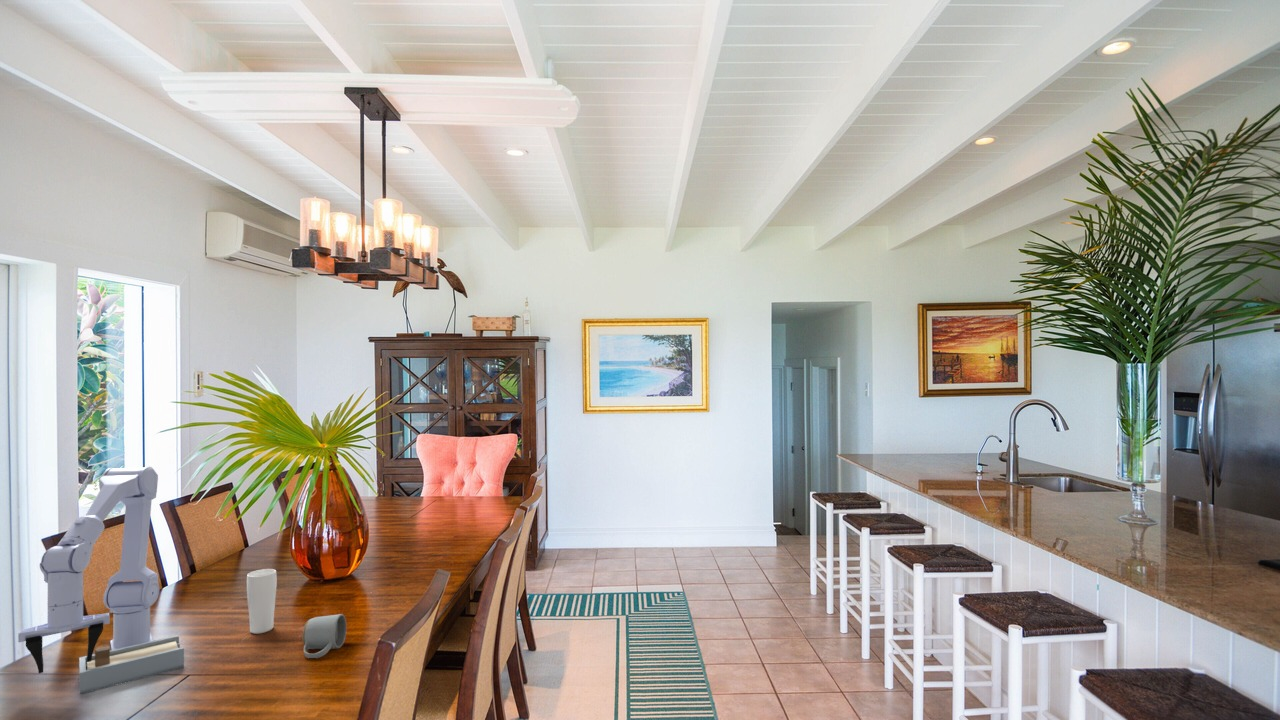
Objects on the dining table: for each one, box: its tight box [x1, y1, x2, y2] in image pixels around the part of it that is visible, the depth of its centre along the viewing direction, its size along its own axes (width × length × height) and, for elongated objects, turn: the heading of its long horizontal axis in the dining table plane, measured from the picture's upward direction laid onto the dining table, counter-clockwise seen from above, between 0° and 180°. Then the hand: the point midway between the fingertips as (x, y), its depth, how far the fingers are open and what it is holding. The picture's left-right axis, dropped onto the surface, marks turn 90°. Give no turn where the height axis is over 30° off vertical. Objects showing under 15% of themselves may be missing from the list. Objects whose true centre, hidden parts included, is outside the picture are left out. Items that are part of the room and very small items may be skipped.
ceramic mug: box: [301, 613, 347, 659], centre depth 156 cm, size 11×8×8 cm
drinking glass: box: [246, 568, 278, 635], centre depth 169 cm, size 7×7×15 cm
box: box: [78, 634, 185, 695], centre depth 145 cm, size 10×18×4 cm, turn 131°
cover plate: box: [87, 641, 178, 670], centre depth 146 cm, size 7×16×4 cm, turn 131°
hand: (65, 665), depth 138 cm, fingers open, 7 cm apart
